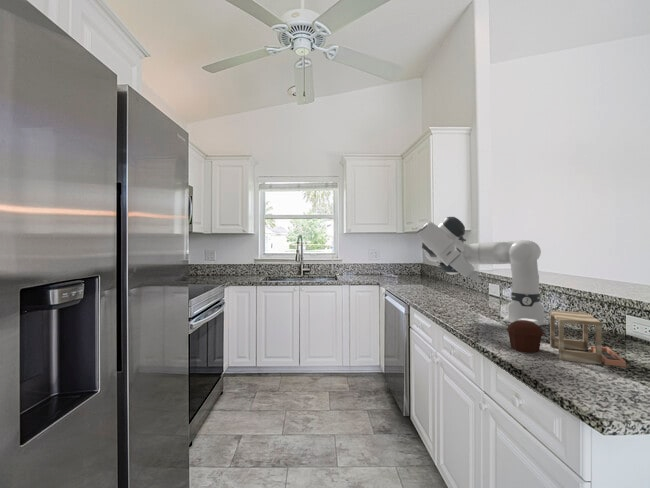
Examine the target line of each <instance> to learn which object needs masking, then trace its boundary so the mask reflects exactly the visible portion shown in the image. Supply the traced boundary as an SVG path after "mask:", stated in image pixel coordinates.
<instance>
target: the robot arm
mask: <svg viewBox="0 0 650 488" xmlns="http://www.w3.org/2000/svg"><path fill="white" fill-rule="evenodd" d="M465 234H466V227H465V225H464V223H463V222H462V221H461V220H460V219H459V218H457V217H456V216H446V217H445V218H444V219H443V220H442V221H441V222H440V223H439V224H438V225H437V224H436V223H434V222H432V221H427V222H425V223H424V224H423V225H422V226H420V228H419V229H418V230H417V232H416V235H417V237H418V238H419V240H420V241H421V242H422V243H421V249H422V250H423V252H424V254H423V255H424V256H425V257H426V258H427V260H428V261H431V262H434V263H438V262H439V264H438V267H440V269H441V271H443V272H444V273H445V274H448V275H453V276H454V275H458V274H460V275H461V276H463V277H465V278H468V277H469V278H471V280H473V281H475V282H476V284H480V283H482V281H483V280H482V278H481V277H480V276H479V274H478V273H477V272H476V271H475V266H474V265H506V264H507V265H510V270H511V285H512V286H511V289H512V290H511V292H510V299H511V301H509V303H507V306H506V308H505V309H506V315H505V316H504V317H503V320H502V321H503V322H507V323H510V324H511V323H512V322H515V321H518V319H519V318H530V319H535V320H537V321H538V324H537V325H538V326H544V325H545V326H546V325H550V321H547V320H545V306H544V305H543V304H542V303H541V293H540V276H539V269H538V266H539V265H538V260H539V258H540V256H541V254H542V253H541V252H542V251H541V247H540V246H539V244H538V243H537V242H535V241H533V240H523V239H522V240H515V241H513V240H511V241H509V240H508V241H494V242H493V241H492V242H490V241H489V242H476V243H470V244H469V243H468V244H466V243H465V242H466V241H467V239H466V238H464V235H465Z"/></svg>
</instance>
